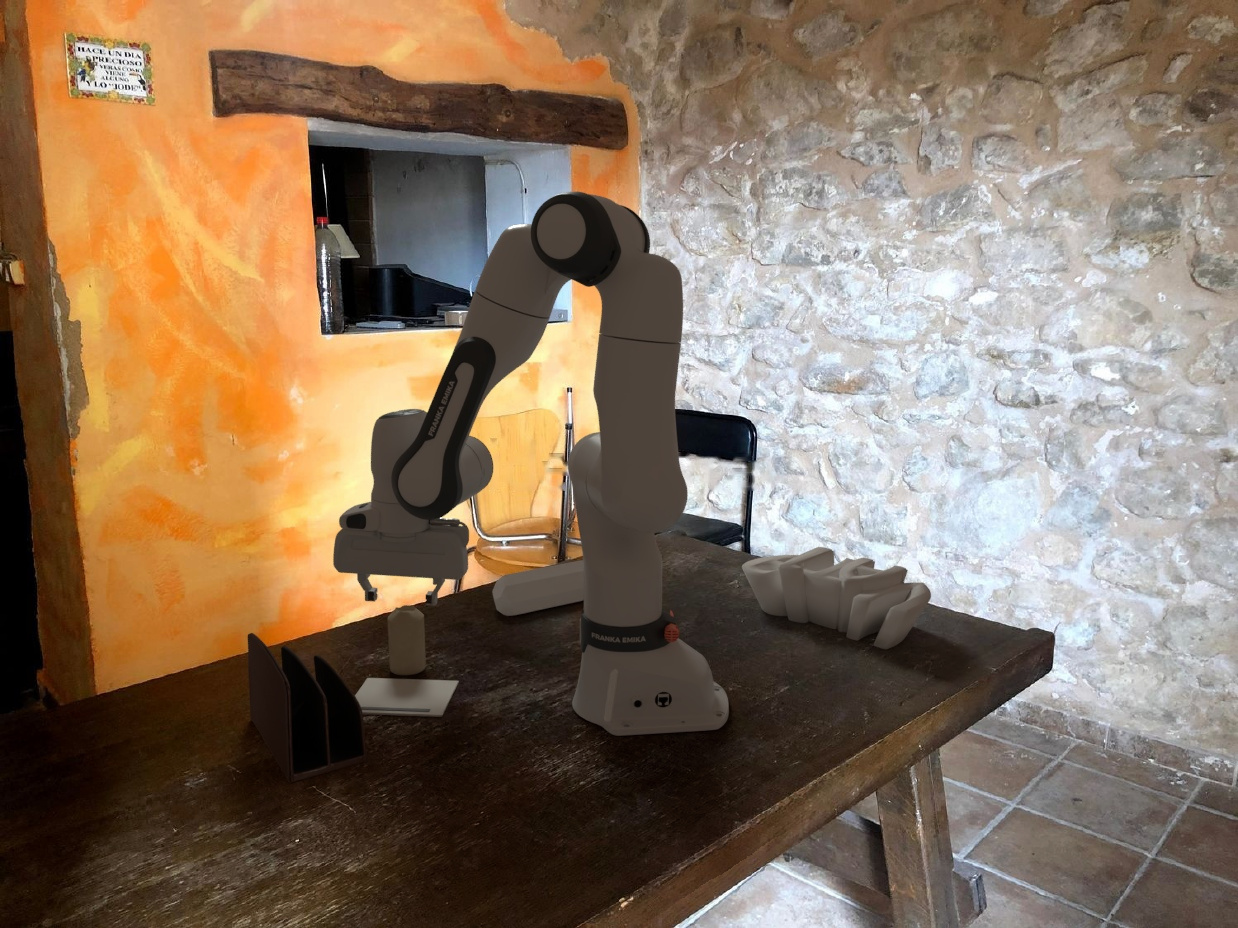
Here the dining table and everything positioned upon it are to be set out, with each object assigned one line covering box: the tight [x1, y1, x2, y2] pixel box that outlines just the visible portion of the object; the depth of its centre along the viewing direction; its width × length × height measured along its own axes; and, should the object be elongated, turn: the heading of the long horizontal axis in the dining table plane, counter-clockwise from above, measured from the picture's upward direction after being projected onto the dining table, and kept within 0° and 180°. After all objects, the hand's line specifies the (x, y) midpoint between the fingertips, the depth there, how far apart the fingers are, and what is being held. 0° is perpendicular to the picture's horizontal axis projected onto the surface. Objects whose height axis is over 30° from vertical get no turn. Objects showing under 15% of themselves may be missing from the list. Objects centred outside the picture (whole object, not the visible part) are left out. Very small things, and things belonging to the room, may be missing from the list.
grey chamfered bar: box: [491, 559, 584, 617], centre depth 183 cm, size 7×7×24 cm
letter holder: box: [247, 632, 368, 784], centre depth 130 cm, size 10×20×14 cm, turn 33°
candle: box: [387, 604, 427, 676], centre depth 153 cm, size 6×6×10 cm
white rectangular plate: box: [354, 677, 460, 718], centre depth 144 cm, size 14×11×1 cm
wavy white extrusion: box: [741, 546, 932, 650], centre depth 173 cm, size 35×16×11 cm, turn 44°
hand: (401, 602), depth 152 cm, fingers open, 8 cm apart
